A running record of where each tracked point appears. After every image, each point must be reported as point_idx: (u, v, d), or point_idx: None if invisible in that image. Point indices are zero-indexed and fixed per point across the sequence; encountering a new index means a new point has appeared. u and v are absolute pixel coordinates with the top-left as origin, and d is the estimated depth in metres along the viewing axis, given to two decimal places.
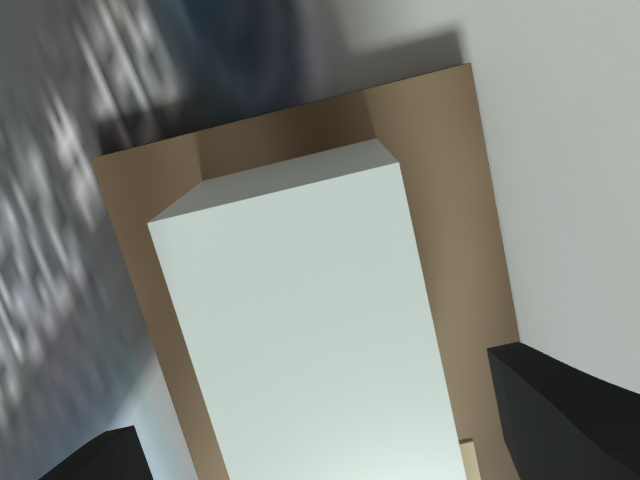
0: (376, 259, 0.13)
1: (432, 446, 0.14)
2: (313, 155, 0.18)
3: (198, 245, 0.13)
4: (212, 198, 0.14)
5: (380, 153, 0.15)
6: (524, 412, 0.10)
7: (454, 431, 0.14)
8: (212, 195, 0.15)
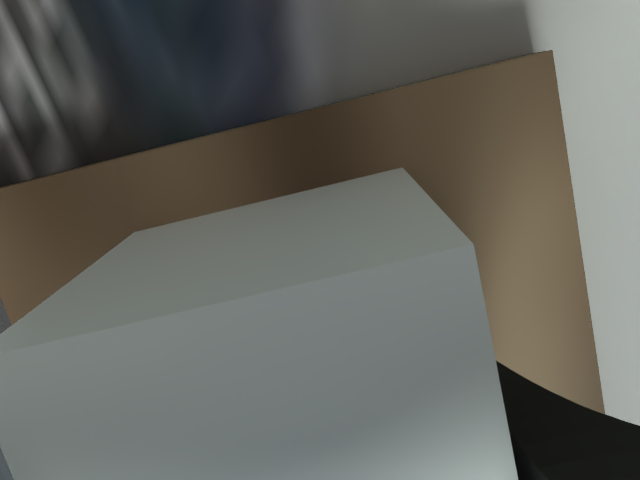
0: (422, 430, 0.07)
1: None
2: (304, 195, 0.12)
3: (70, 403, 0.07)
4: (113, 294, 0.08)
5: (421, 207, 0.08)
6: None
7: None
8: (120, 282, 0.08)
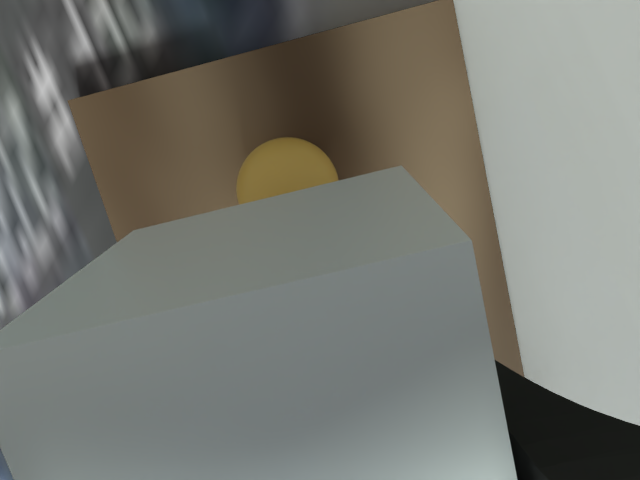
0: (420, 427, 0.07)
1: None
2: (303, 193, 0.12)
3: (67, 400, 0.07)
4: (112, 291, 0.08)
5: (419, 204, 0.08)
6: None
7: None
8: (119, 279, 0.08)
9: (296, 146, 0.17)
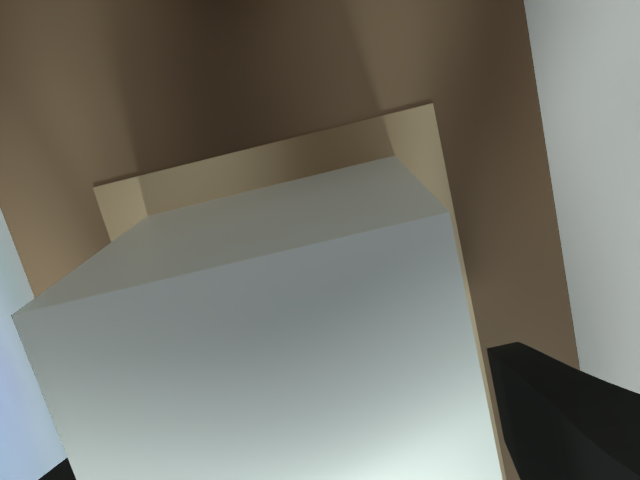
0: (406, 375, 0.08)
1: None
2: (304, 181, 0.13)
3: (101, 351, 0.08)
4: (136, 262, 0.09)
5: (408, 186, 0.09)
6: (525, 412, 0.10)
7: None
8: (141, 253, 0.09)
9: None
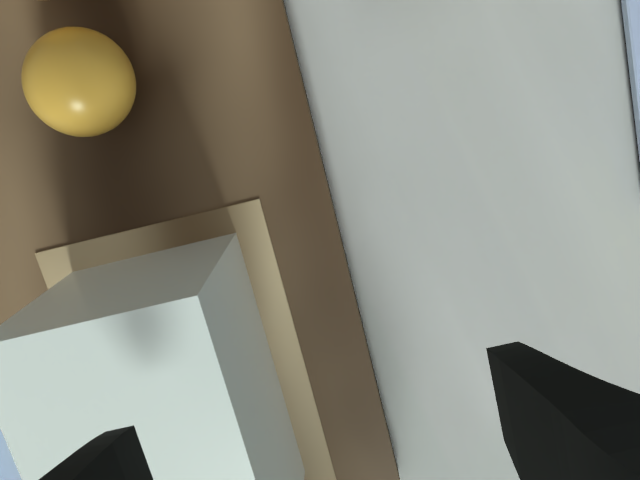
0: (183, 381, 0.14)
1: None
2: (173, 251, 0.19)
3: (16, 368, 0.14)
4: (43, 315, 0.15)
5: (207, 269, 0.16)
6: (525, 413, 0.10)
7: None
8: (49, 308, 0.16)
9: None
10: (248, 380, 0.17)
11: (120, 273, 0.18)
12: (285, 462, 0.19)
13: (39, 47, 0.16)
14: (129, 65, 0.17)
